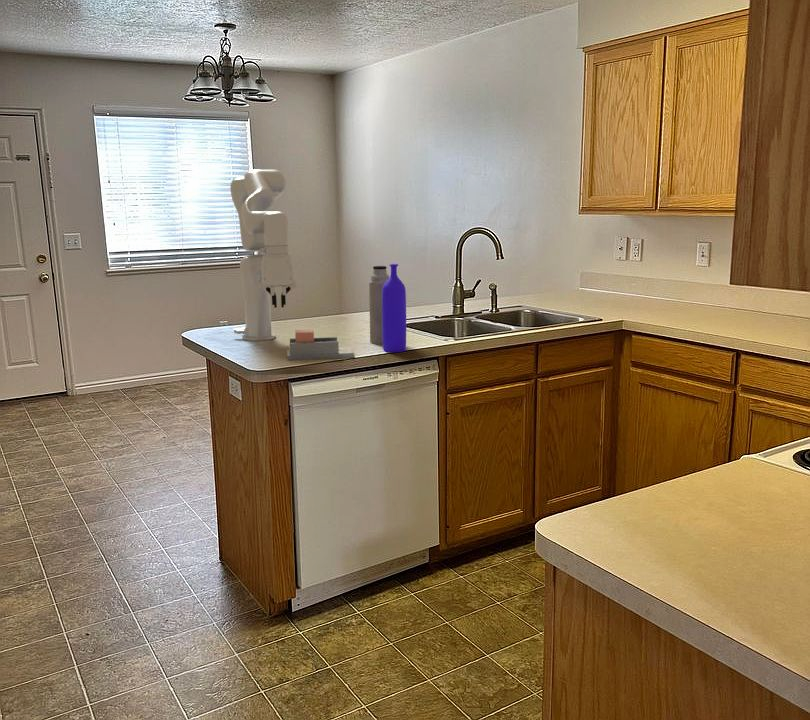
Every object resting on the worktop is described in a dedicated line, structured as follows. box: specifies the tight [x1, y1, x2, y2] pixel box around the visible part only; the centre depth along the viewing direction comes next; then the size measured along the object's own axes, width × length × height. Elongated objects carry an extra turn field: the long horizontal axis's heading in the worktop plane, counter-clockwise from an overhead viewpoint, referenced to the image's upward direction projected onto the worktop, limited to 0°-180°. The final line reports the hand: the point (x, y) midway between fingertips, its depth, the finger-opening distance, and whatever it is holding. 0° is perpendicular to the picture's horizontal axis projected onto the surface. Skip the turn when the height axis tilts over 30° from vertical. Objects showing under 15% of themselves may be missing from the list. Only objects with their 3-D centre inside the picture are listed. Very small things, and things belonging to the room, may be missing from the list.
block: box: [294, 329, 315, 343], centre depth 250 cm, size 6×6×7 cm
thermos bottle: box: [368, 265, 390, 345], centre depth 272 cm, size 8×8×28 cm
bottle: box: [382, 263, 407, 353], centre depth 257 cm, size 8×8×30 cm
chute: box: [286, 336, 355, 361], centre depth 251 cm, size 22×10×6 cm, turn 98°
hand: (279, 306), depth 246 cm, fingers closed
